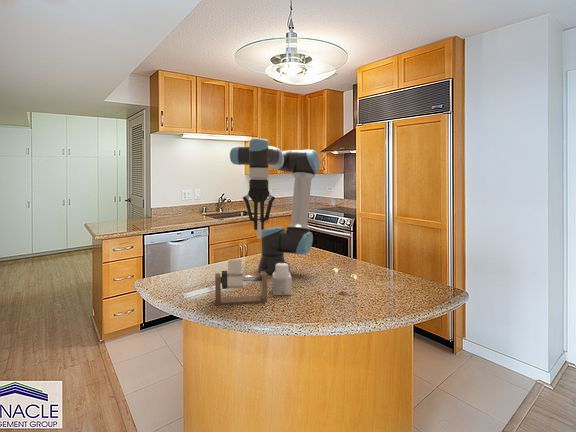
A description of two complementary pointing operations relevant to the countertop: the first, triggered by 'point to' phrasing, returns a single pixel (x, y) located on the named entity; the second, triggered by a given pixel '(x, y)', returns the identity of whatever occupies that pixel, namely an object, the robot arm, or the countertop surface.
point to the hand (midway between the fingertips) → (258, 237)
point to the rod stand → (242, 299)
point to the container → (281, 279)
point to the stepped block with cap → (234, 274)
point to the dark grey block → (224, 279)
